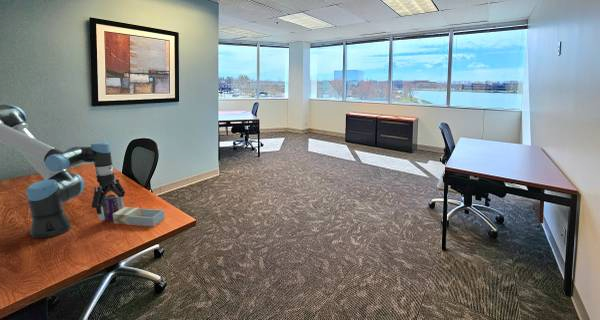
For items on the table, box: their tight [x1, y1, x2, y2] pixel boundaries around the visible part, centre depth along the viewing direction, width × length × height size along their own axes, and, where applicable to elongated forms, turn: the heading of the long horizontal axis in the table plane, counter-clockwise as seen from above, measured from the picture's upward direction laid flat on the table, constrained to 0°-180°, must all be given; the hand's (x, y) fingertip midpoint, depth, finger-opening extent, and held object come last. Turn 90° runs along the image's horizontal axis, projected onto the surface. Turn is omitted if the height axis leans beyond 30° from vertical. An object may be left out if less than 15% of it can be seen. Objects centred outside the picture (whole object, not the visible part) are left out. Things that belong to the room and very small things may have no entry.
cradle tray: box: [128, 208, 166, 227], centre depth 162 cm, size 13×10×4 cm
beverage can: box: [101, 194, 120, 222], centre depth 164 cm, size 7×7×12 cm
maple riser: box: [113, 206, 141, 225], centre depth 163 cm, size 8×9×5 cm
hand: (112, 213), depth 164 cm, fingers open, 13 cm apart
